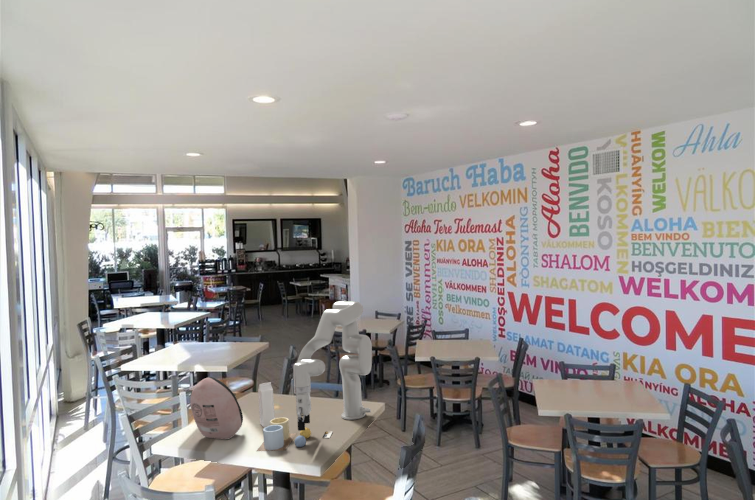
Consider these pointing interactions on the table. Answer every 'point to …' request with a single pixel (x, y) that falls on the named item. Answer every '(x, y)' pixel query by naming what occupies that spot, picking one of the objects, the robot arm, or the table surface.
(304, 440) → the ball blue
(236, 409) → the packaged food
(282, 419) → the tube
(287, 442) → the tube board
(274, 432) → the tube blue
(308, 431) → the ball ochre
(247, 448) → the table surface
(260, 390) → the milk
